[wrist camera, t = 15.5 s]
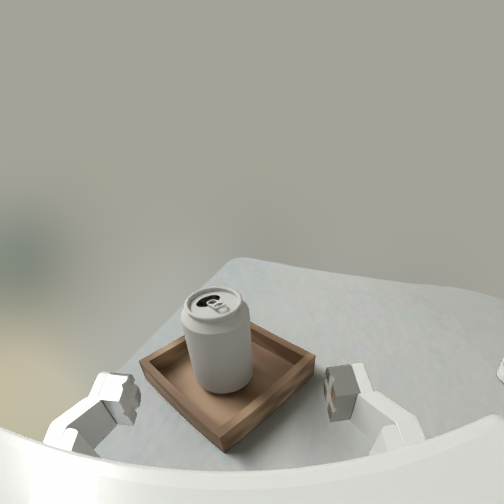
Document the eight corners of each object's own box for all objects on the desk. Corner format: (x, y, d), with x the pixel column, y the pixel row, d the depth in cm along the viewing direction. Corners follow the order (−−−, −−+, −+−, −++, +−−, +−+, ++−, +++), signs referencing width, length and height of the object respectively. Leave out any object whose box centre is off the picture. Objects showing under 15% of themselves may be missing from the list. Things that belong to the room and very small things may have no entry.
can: (229, 348, 42) (220, 274, 37) (266, 376, 37) (263, 299, 32) (185, 373, 38) (165, 298, 33) (218, 407, 33) (202, 331, 28)
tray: (230, 327, 48) (227, 309, 47) (313, 373, 38) (315, 355, 36) (145, 378, 38) (138, 360, 37) (224, 452, 28) (219, 437, 26)
